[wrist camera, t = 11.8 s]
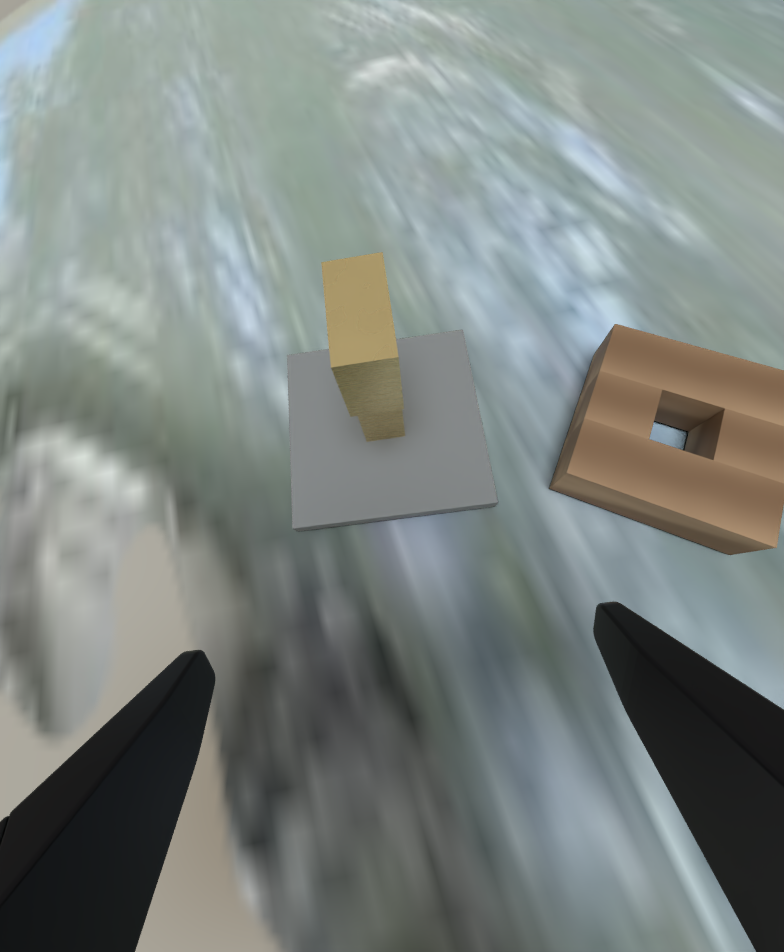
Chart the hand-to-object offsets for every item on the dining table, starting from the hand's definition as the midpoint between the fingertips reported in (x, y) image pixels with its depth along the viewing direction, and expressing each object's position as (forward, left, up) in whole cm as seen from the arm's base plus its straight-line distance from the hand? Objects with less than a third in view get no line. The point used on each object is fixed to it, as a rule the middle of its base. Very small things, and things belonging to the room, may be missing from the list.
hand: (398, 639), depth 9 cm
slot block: (+10, -15, -13) cm, 22 cm away
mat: (+12, +2, -13) cm, 18 cm away
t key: (+12, +2, -12) cm, 17 cm away
